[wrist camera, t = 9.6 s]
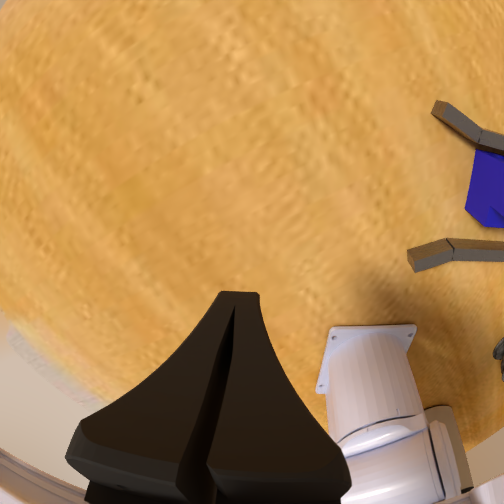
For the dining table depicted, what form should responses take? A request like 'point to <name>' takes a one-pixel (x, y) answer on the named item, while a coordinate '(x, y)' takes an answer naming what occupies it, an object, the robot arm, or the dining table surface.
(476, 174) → the blue cradle block
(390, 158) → the dining table surface
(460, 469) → the travel mug
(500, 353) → the salt shaker
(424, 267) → the rail
